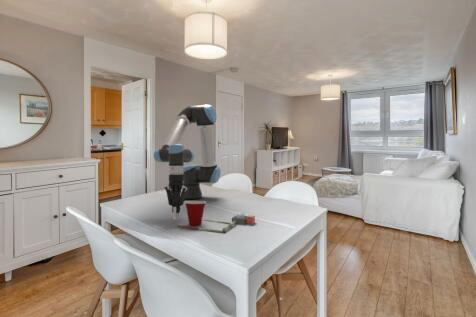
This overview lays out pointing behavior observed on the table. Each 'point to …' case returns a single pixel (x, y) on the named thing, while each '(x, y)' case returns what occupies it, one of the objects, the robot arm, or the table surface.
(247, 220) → the dome housing
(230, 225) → the u-shaped frame
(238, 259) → the table surface
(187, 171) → the robot arm
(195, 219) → the plastic cup
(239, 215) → the dome
